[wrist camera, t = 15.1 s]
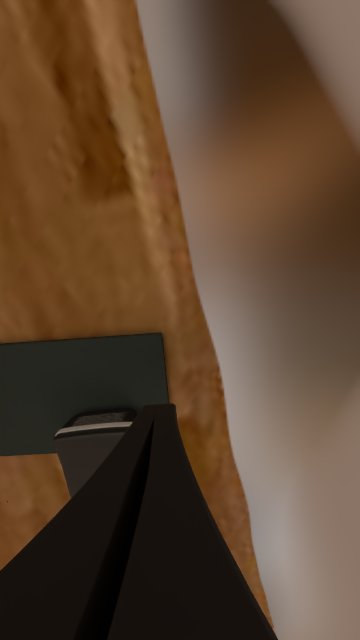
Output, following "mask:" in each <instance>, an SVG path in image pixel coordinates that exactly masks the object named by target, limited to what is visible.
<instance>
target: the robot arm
mask: <svg viewBox="0 0 360 640" xmlns="http://www.w3.org/2000/svg"><path fill="white" fill-rule="evenodd" d="M0 640H278V639H277V637H276V635H275V633H274V631H273V629H272V628H271V626H270V624H269V622H268V621H267V619H266V617H265V615H264V613H263V612H262V610H261V608H260V606H259V604H258V603H257V601H256V599H255V597H254V595H253V594H252V592H251V590H250V588H249V586H248V584H247V582H246V581H245V579H244V577H243V575H242V573H241V571H240V569H239V567H238V565H237V563H236V561H235V560H234V558H233V556H232V554H231V552H230V550H229V548H228V546H227V544H226V542H225V540H224V539H223V537H222V535H221V533H220V531H219V529H218V527H217V524H216V522H215V520H214V518H213V516H212V514H211V512H210V510H209V508H208V506H207V503H206V501H205V499H204V497H203V494H202V492H201V490H200V488H199V485H198V483H197V481H196V478H195V476H194V473H193V471H192V468H191V465H190V463H189V460H188V457H187V455H186V452H185V449H184V446H183V442H182V439H181V436H180V432H179V429H178V424H177V414H176V406H175V405H174V404H173V403H172V404H156V405H144V406H143V408H142V409H141V410H140V412H139V413H138V415H137V416H136V418H135V419H134V421H133V422H132V424H131V425H130V426H129V428H128V429H127V431H126V432H125V433H124V435H123V436H122V437H121V439H120V440H119V442H118V443H117V444H116V446H115V447H114V448H113V450H112V451H111V452H110V453H109V455H108V456H107V457H106V458H105V460H104V461H103V462H102V463H101V465H100V466H99V467H98V468H97V469H96V471H95V472H94V473H93V474H92V476H91V477H90V478H89V479H88V480H87V481H86V483H85V484H84V485H83V486H82V487H81V488H80V489H79V491H78V492H77V493H76V494H75V495H74V496H73V497H72V498H71V499H70V501H69V502H68V503H67V504H66V505H65V506H64V507H63V508H62V509H61V510H60V511H59V512H58V514H57V515H56V516H55V517H54V518H53V519H52V520H51V521H50V522H49V523H48V524H47V525H46V526H45V527H44V528H43V529H42V530H41V531H40V532H39V533H38V534H37V535H36V536H35V537H34V538H33V539H32V540H31V541H30V542H29V543H28V544H27V545H26V546H25V547H24V548H23V549H22V550H21V551H20V552H19V553H18V554H17V555H16V556H15V557H14V558H13V559H12V560H11V561H10V562H9V563H8V564H7V565H6V566H5V567H4V568H3V569H2V570H1V571H0Z"/></svg>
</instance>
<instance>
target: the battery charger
mask: <svg viewBox="0 0 360 640" xmlns="http://www.w3.org/2000/svg"><path fill="white" fill-rule="evenodd" d="M136 416H137V412H136V410H134V409H133V408H115V409H104V410H96V411H88V412H83V413H79V414H77V415H75V416H73V417H72V418H71V419H70V420H69V421H68V422H67V423H66V424H65V425H64V426H63V427H62V429H60V430H59V431H58V432H57V433H56V435H55V438H54V439H53V444H54V446H55V449H56V451H57V454H58V457H59V460H60V462H61V465H62V468H63V471H64V475H65V479H66V482H67V486H68V489H69V493H70V496H71V498H72V497H73V496H74V495H75V494H76V493H77V492H78V491H79V489H80V488H81V487H82V486H83V485H84V484H85V483H86V481H87V480H88V479H89V478H90V477H91V476H92V474H93V473H94V472H95V471H96V469H97V468H98V467H99V466H100V465H101V463H102V462H103V461H104V460H105V458H106V457H107V456H108V455H109V453H110V452H111V451H112V450H113V448H114V447H115V446H116V444H117V443H118V442H119V440H120V439H121V437H122V436H123V435H124V433H125V432H126V431H127V429H128V428H129V426H130V425H131V424H132V422H133V421H134V419H135V418H136Z"/></svg>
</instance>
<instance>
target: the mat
mask: <svg viewBox="0 0 360 640" xmlns="http://www.w3.org/2000/svg"><path fill="white" fill-rule="evenodd" d="M156 404H169V397H168V388H167V378H166V368H165V358H164V349H163V339H162V333H149V334H135V335H120V336H106V337H92V338H77V339H63V340H49V341H34V342H20V343H6V344H0V456H13V455H31V454H49V453H57V451H56V449H55V446H54V444H53V439H54V438H55V435H56V433H57V432H58V431H59V430H60V429H62V427H63V426H64V425H65V424H66V423H67V422H68V421H69V420H70V419H71V418H72V417H73V416H75V415H77V414H79V413H83V412H88V411H96V410H104V409H115V408H133V409H134V410H136V412H137V415H138V413H139V412H140V410H141V409H142V408H143V406H144V405H156Z"/></svg>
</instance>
